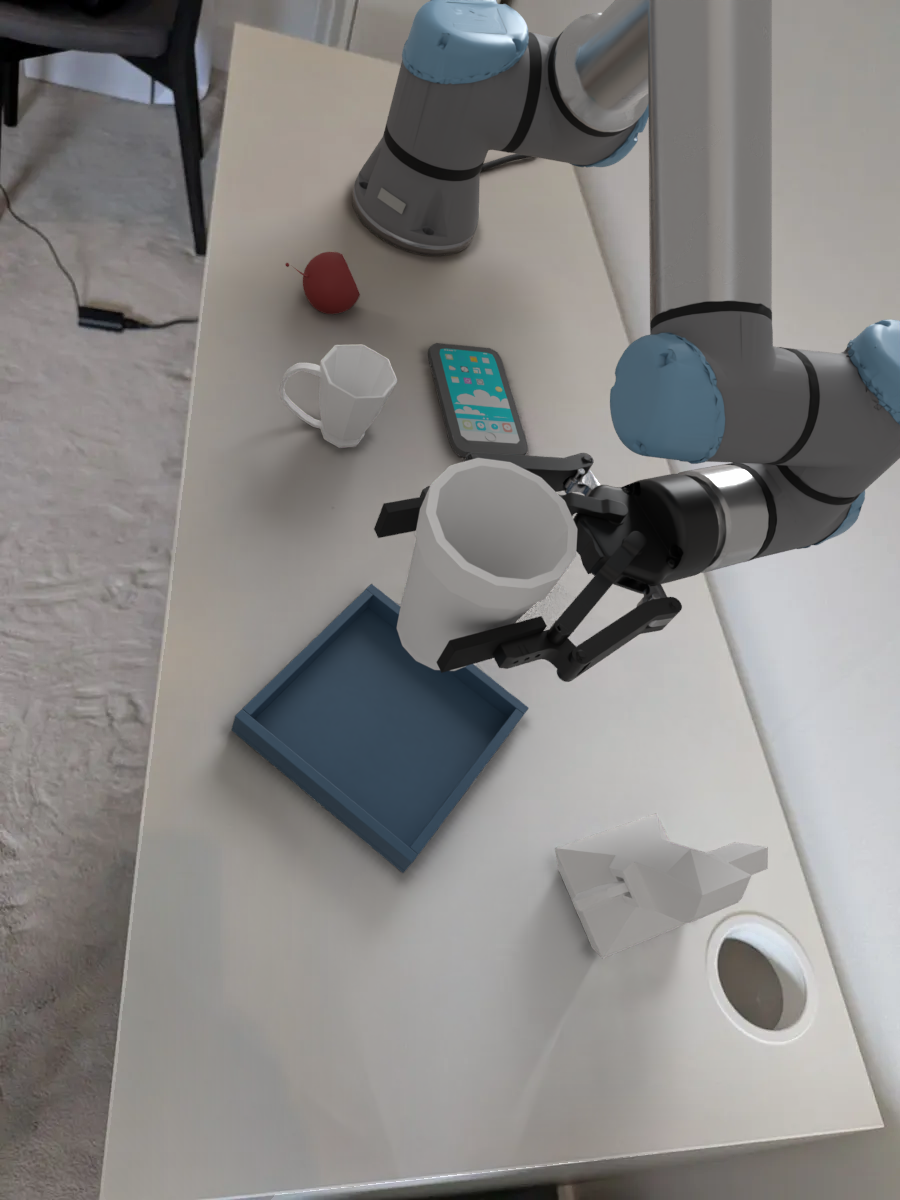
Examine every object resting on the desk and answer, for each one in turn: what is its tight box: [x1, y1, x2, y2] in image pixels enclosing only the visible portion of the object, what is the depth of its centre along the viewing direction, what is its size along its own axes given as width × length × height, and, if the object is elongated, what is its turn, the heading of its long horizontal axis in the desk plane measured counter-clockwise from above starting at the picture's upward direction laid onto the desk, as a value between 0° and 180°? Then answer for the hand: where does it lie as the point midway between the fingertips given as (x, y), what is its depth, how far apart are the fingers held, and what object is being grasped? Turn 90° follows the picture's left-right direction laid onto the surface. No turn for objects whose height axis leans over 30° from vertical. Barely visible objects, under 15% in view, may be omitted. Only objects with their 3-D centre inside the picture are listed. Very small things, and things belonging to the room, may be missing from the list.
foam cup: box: [397, 458, 577, 671], centre depth 58 cm, size 10×9×13 cm
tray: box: [231, 583, 529, 874], centre depth 71 cm, size 17×17×3 cm
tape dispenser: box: [554, 813, 769, 960], centre depth 65 cm, size 8×14×14 cm, turn 115°
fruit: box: [285, 251, 361, 315], centre depth 94 cm, size 6×6×8 cm
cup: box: [278, 343, 398, 449], centre depth 84 cm, size 7×10×8 cm
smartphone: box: [427, 342, 529, 458], centre depth 95 cm, size 9×1×15 cm
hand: (412, 586), depth 56 cm, fingers closed on foam cup, 9 cm apart
